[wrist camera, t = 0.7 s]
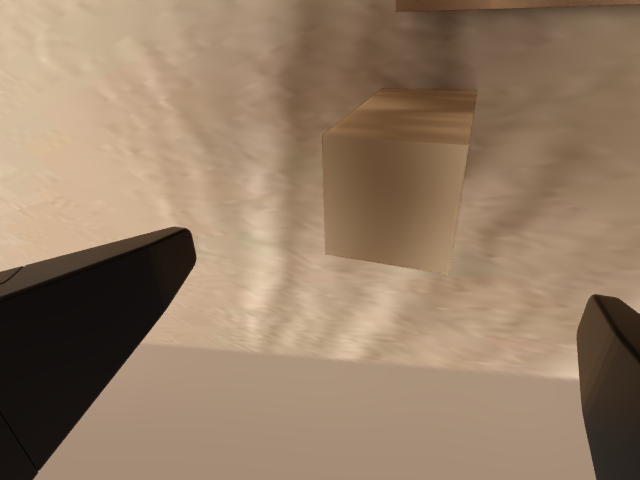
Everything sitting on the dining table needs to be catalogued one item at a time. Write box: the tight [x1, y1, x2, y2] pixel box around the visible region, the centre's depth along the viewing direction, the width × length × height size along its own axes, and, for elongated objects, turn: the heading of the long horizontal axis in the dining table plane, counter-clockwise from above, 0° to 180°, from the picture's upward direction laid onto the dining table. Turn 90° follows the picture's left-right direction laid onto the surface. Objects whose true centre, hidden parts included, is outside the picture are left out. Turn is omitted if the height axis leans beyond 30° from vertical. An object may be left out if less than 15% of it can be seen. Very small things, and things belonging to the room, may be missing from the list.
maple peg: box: [322, 88, 477, 274], centre depth 15 cm, size 4×4×8 cm
